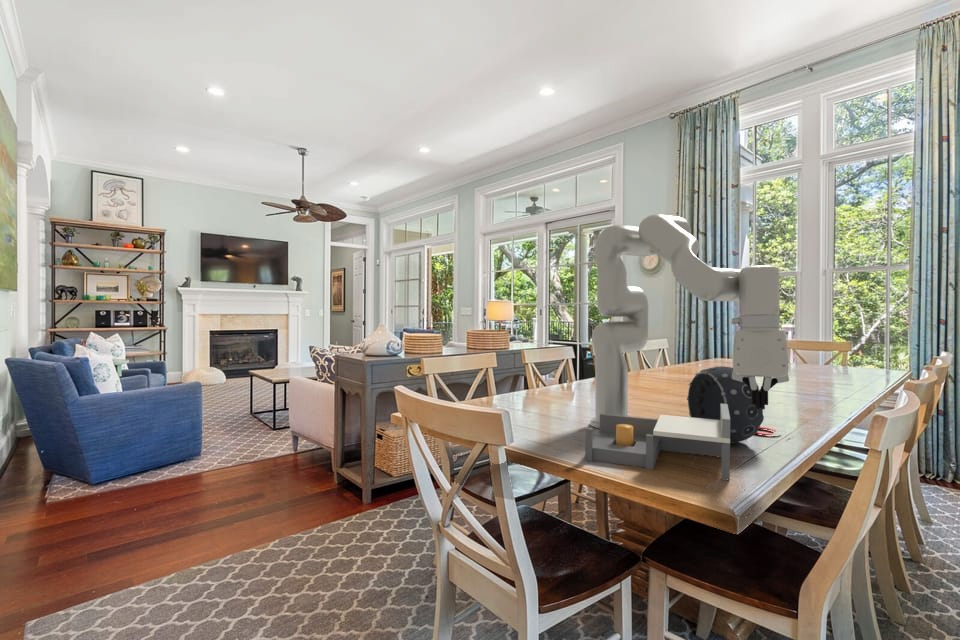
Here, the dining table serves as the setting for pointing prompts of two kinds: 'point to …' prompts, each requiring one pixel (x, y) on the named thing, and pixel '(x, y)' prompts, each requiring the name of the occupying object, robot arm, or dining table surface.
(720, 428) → the lid
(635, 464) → the housing
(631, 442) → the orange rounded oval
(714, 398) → the studded black wheel
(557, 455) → the dining table surface
